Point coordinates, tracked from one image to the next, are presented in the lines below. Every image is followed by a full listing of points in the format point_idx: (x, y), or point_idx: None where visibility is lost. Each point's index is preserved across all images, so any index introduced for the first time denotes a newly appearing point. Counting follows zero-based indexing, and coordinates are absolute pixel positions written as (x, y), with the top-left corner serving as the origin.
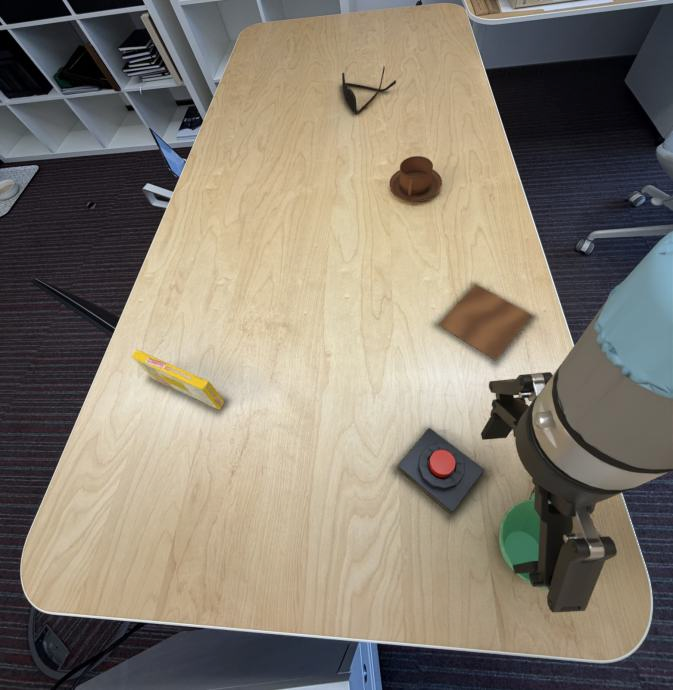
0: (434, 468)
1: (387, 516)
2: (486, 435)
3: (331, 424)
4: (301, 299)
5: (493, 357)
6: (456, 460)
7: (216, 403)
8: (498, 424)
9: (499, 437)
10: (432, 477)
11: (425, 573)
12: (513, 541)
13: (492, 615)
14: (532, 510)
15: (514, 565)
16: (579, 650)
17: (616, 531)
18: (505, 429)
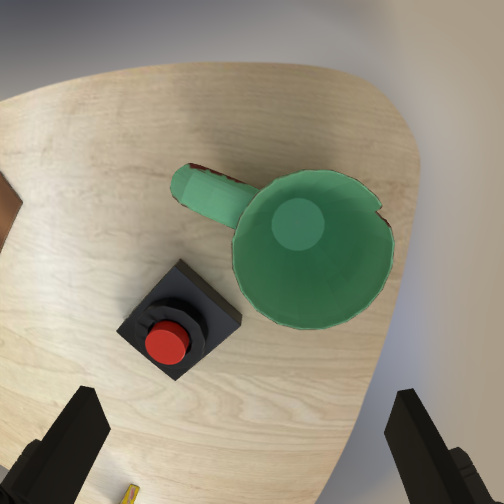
0: (176, 360)
1: (242, 387)
2: (98, 447)
3: (132, 421)
4: (12, 406)
5: (18, 205)
6: (161, 317)
7: (134, 496)
8: (65, 495)
9: (96, 407)
10: (189, 355)
11: (314, 354)
12: (285, 235)
13: None
14: (248, 229)
15: (388, 442)
16: (415, 185)
17: (277, 76)
18: (71, 447)
